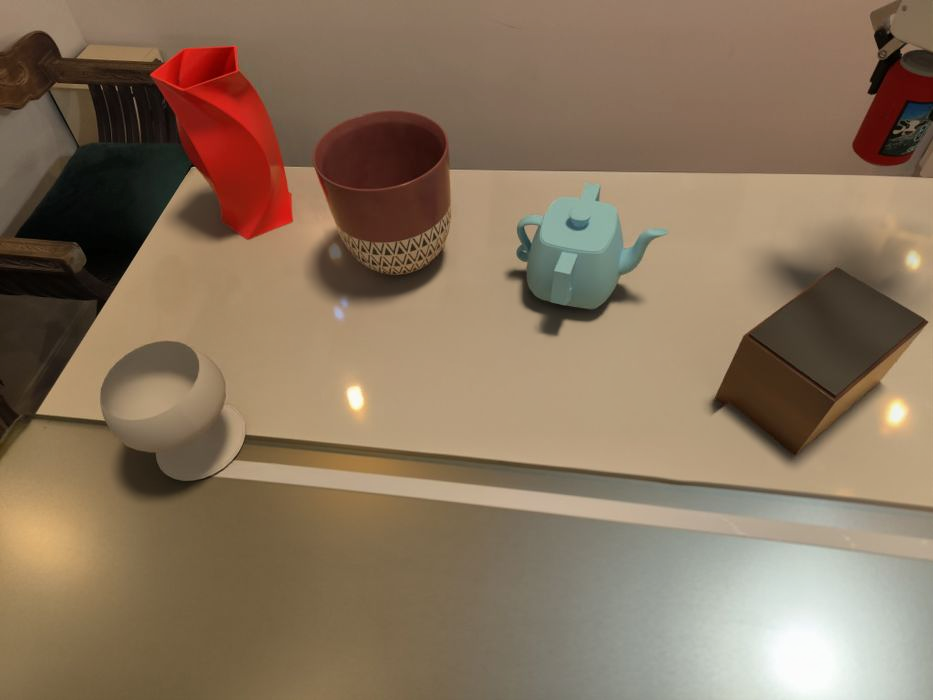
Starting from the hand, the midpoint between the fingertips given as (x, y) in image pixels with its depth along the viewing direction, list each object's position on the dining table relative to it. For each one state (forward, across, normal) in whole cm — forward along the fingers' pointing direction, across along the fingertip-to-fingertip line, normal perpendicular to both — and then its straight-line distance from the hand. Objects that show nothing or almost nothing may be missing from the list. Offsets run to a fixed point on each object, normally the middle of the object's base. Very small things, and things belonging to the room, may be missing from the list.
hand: (907, 102), depth 71 cm
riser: (+30, -12, +19) cm, 37 cm away
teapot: (+30, +21, +28) cm, 46 cm away
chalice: (+30, +31, +88) cm, 98 cm away
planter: (+30, +45, +48) cm, 72 cm away
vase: (+30, +72, +63) cm, 100 cm away
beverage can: (+7, 0, 0) cm, 7 cm away
